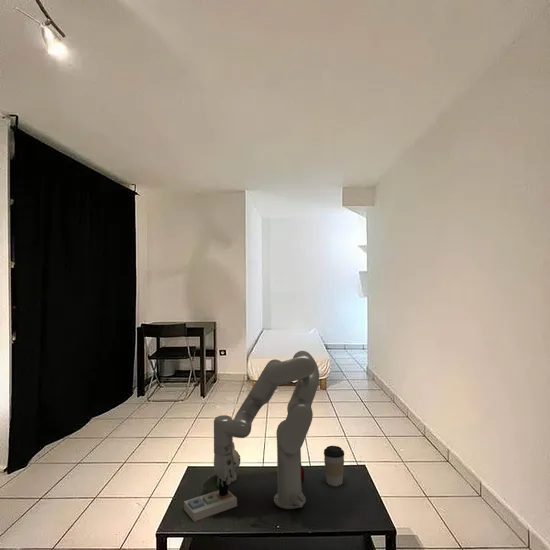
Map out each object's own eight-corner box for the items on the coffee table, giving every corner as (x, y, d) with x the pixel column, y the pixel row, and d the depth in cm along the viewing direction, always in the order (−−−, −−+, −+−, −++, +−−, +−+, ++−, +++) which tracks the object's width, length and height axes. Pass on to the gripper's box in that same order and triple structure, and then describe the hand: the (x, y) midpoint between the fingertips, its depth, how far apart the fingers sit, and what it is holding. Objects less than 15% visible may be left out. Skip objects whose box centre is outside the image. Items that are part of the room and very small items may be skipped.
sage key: (218, 504, 156) (218, 497, 156) (207, 508, 153) (207, 501, 153) (213, 499, 160) (213, 492, 160) (202, 502, 157) (202, 496, 157)
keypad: (237, 506, 157) (237, 498, 157) (193, 521, 147) (193, 513, 147) (225, 495, 166) (225, 488, 166) (183, 509, 156) (183, 501, 156)
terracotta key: (232, 501, 159) (232, 495, 159) (221, 505, 157) (221, 498, 157) (227, 496, 163) (226, 490, 163) (216, 500, 160) (216, 493, 160)
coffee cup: (332, 475, 182) (331, 442, 182) (349, 482, 175) (348, 447, 176) (320, 482, 175) (319, 447, 176) (337, 489, 169) (336, 453, 169)
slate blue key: (204, 509, 152) (204, 502, 153) (192, 513, 150) (192, 506, 150) (199, 503, 156) (199, 497, 156) (188, 507, 154) (188, 501, 154)
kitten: (226, 490, 170) (226, 454, 170) (208, 484, 175) (208, 450, 175) (247, 476, 182) (246, 442, 183) (229, 471, 188) (229, 438, 188)
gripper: (240, 452, 156) (240, 500, 156) (223, 440, 169) (223, 484, 168) (223, 456, 152) (223, 505, 152) (206, 444, 165) (207, 489, 164)
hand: (223, 494), depth 160 cm, fingers closed
